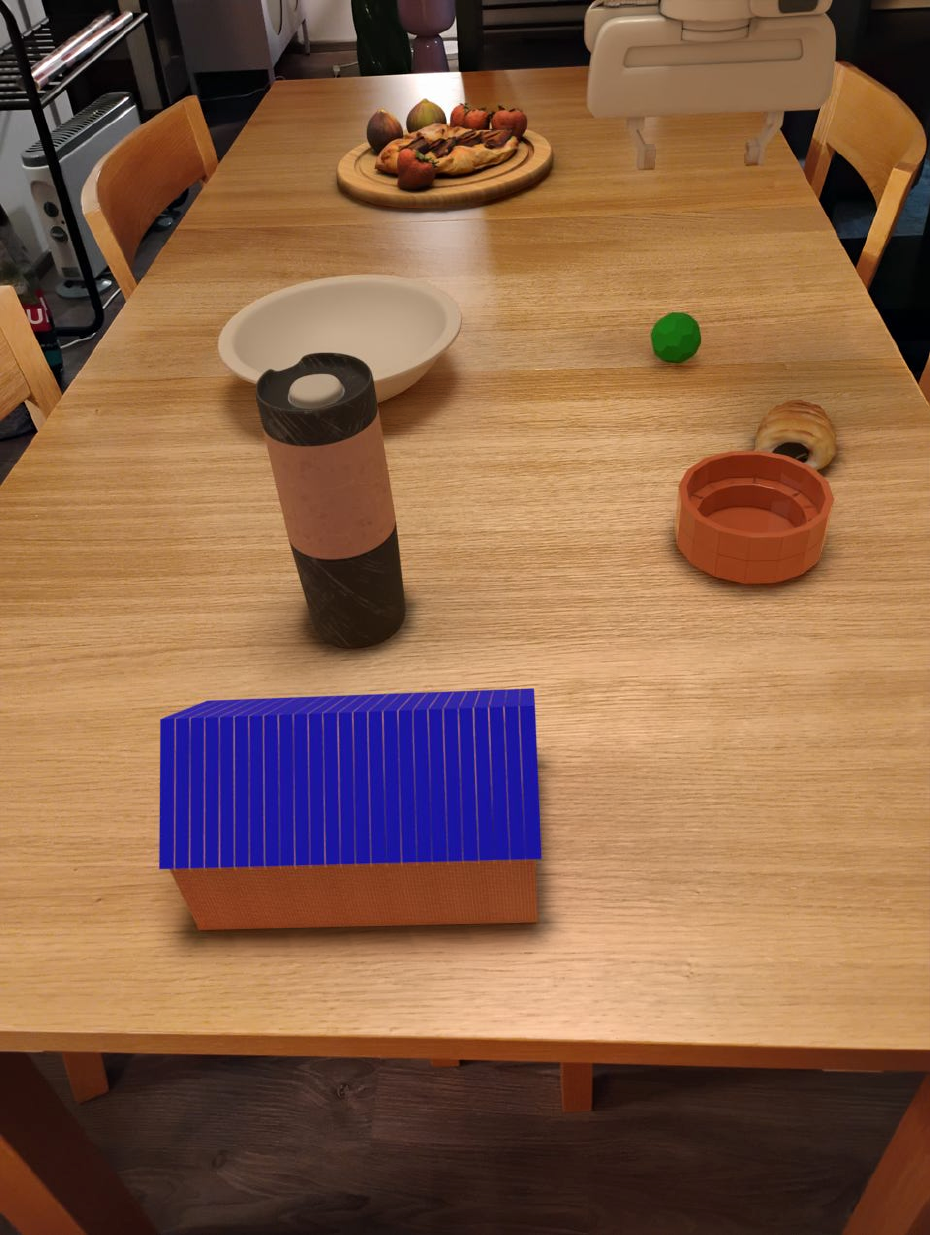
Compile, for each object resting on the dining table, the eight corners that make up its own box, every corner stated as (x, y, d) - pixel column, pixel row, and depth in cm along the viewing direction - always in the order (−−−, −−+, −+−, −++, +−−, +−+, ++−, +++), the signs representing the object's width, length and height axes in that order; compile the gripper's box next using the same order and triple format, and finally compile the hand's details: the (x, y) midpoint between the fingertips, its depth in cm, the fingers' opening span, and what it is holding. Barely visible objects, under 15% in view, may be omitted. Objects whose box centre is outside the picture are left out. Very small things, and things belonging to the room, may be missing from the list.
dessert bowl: (806, 499, 82) (816, 448, 79) (835, 588, 74) (847, 535, 71) (669, 502, 83) (673, 452, 80) (682, 590, 75) (687, 538, 72)
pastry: (762, 414, 92) (767, 377, 90) (838, 423, 90) (846, 385, 88) (749, 470, 86) (754, 432, 83) (830, 481, 84) (839, 442, 81)
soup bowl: (263, 476, 91) (247, 413, 86) (211, 364, 107) (196, 306, 103) (504, 409, 96) (500, 346, 92) (419, 313, 113) (413, 256, 109)
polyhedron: (684, 344, 103) (688, 300, 100) (708, 365, 100) (712, 320, 96) (640, 354, 102) (643, 310, 99) (662, 376, 99) (666, 331, 95)
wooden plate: (482, 227, 130) (478, 161, 125) (293, 196, 144) (282, 135, 138) (591, 149, 150) (591, 89, 144) (415, 128, 163) (410, 73, 158)
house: (232, 769, 65) (185, 641, 57) (536, 759, 64) (531, 627, 56) (192, 935, 57) (130, 811, 49) (544, 927, 55) (539, 798, 47)
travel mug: (397, 654, 72) (358, 413, 59) (297, 648, 73) (235, 411, 60) (418, 585, 78) (385, 351, 64) (324, 580, 79) (273, 350, 65)
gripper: (586, 1, 78) (582, 183, 87) (855, -14, 76) (822, 174, 85) (584, -16, 82) (580, 159, 92) (837, -31, 80) (808, 149, 90)
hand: (699, 166), depth 88 cm, fingers open, 8 cm apart
